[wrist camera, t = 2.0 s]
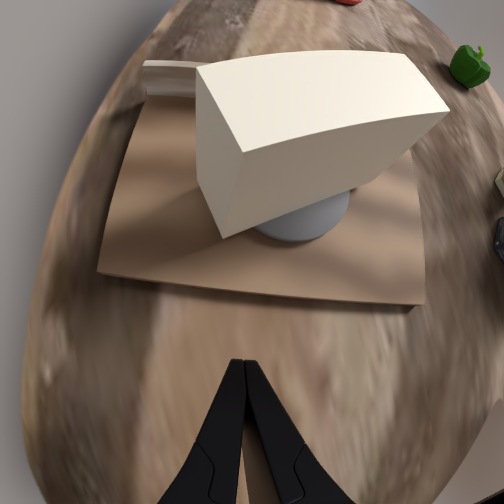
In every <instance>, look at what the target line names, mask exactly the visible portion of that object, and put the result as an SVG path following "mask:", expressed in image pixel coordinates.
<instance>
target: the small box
mask: <svg viewBox="0 0 504 504" xmlns="http://www.w3.org/2000/svg"><path fill="white" fill-rule="evenodd" d="M494 250H495V251H496V253H497V254H498V256H499V257H500V259H501V260H502V262H503V263H504V217H501V218H499V220H498V227H497V232H496V237H495V242H494Z"/></svg>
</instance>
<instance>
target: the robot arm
mask: <svg viewBox="0 0 504 504" xmlns="http://www.w3.org/2000/svg"><path fill="white" fill-rule="evenodd" d="M304 443H305V441H304V439H303V438H302V436H301V435H300V433H299V431H298V430H297V428H296V427H295V425H294V423H293V422H292V420H291V418H290V417H289V415H288V413H287V412H286V410H285V408H284V407H283V405H282V403H281V402H280V400H279V398H278V397H277V395H276V393H275V392H274V390H273V388H272V386H271V385H270V383H269V381H268V380H267V378H266V376H265V374H264V373H263V371H262V369H261V367H260V366H259V364H258V362H257V361H256V360H244V361H243V360H242V359H231V361H230V363H229V365H228V367H227V370H226V372H225V374H224V377H223V379H222V381H221V384H220V386H219V388H218V391H217V393H216V395H215V397H214V400H213V402H212V404H211V407H210V409H209V411H208V413H207V416H206V418H205V420H204V422H203V425H202V427H201V429H200V431H199V434H198V436H197V438H196V441H195V442H194V444H193V447H192V449H191V451H190V453H189V455H188V457H187V459H186V461H185V463H184V465H183V466H182V468H181V470H180V471H179V473H178V474H177V476H176V477H175V479H174V480H173V482H172V483H171V485H170V486H169V488H168V489H167V490H166V492H165V493H164V495H163V496H162V497H161V499H160V500H159V502H158V503H157V504H236V496H237V486H238V476H239V467H240V457H241V447H242V451H243V459H244V467H245V474H246V482H247V489H248V496H249V504H356V503H354V502H353V501H352V500H351V499H350V498H349V497H348V496H347V495H346V494H345V492H344V491H343V490H342V489H341V488H340V487H339V486H338V485H337V484H336V483H335V481H334V480H333V479H332V478H331V477H330V476H329V475H328V473H327V472H326V471H325V470H324V468H323V467H322V466H321V465H320V463H319V462H318V461H317V459H316V458H315V456H314V455H313V453H312V452H311V450H310V449H309V447H308V446H307V444H304ZM474 504H504V489H502V490H500V491H498V492H496V493H495V494H493V495H491V496H489V497H487V498H485V499H483V500H481V501H479V502H477V503H474Z"/></svg>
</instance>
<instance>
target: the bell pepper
mask: <svg viewBox="0 0 504 504" xmlns="http://www.w3.org/2000/svg"><path fill="white" fill-rule="evenodd" d="M478 49H479V50H480V52H479V53H477V52H475V51H473V49H472V48H471V47H470V46H469V45H464V46H460V48H459V49H458V50H457V51H456V53H455V54H454V56H453V59H452V61H451V64H450V72H451V74H452V75H453V76H454V78H455V79H456V80H457V81H458V82H460V83H462V84H463V85H464V86H466V87H467V88H473V87H475V86H478V85H480V84H481V83H483V82H485V81H486V80H487V79H488V78H489V75H490V67H489V66H488V64H487V63H485V62H484V61H483V60H482V56H483V55H484V50H483V48H482V47H481V46H479V47H478Z"/></svg>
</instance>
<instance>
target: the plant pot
mask: <svg viewBox="0 0 504 504" xmlns="http://www.w3.org/2000/svg"><path fill="white" fill-rule="evenodd" d="M335 1H336V2H342V3H347V4H358V3H360V2H362V0H335Z"/></svg>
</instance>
